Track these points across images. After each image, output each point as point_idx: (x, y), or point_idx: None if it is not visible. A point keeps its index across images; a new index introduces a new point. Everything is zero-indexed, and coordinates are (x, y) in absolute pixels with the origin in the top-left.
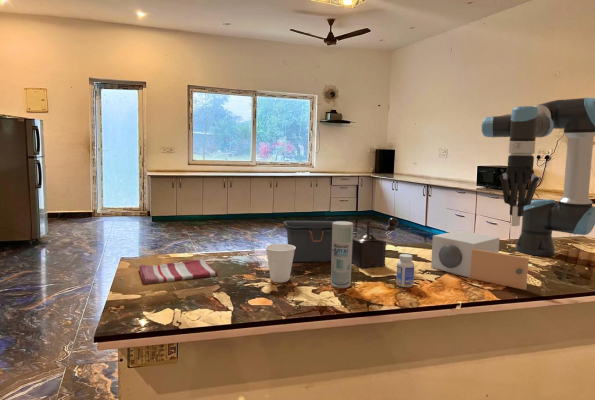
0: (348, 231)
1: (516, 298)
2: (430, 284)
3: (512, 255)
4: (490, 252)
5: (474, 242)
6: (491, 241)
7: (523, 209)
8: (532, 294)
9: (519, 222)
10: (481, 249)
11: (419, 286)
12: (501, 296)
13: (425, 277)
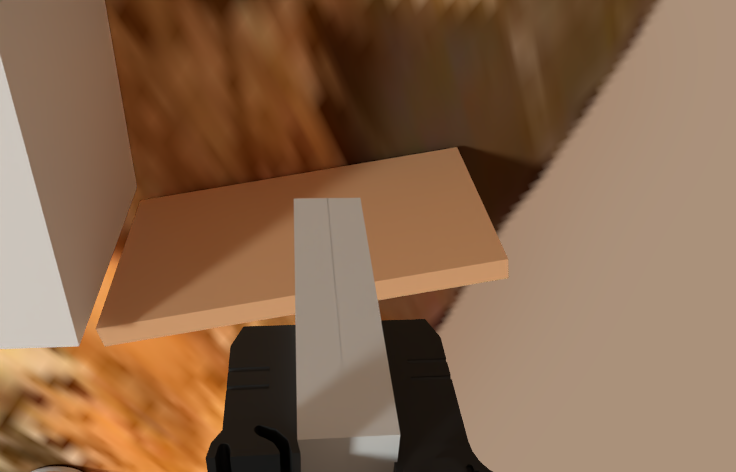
0: None
1: (461, 290)
2: (109, 415)
3: (394, 281)
4: (243, 321)
5: (35, 301)
6: (1, 22)
7: (460, 419)
8: (501, 181)
9: (363, 229)
10: (69, 190)
11: (108, 460)
12: (403, 316)
13: (4, 363)
